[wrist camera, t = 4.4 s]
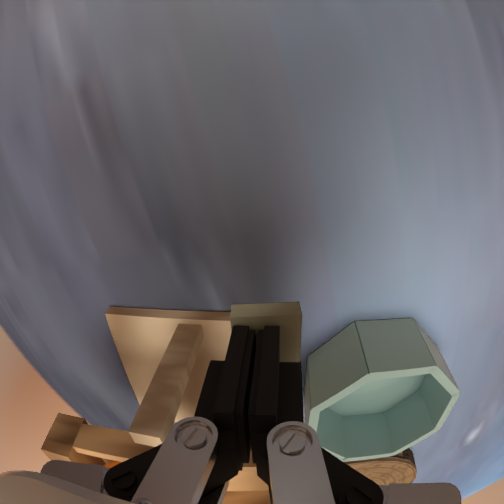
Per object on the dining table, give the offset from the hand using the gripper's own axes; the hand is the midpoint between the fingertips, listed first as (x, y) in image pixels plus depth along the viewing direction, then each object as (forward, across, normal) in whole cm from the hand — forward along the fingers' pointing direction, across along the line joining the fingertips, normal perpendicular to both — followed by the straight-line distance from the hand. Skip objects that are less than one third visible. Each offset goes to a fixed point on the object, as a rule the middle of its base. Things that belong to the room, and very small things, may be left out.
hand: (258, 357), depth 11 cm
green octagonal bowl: (+9, -8, +10) cm, 15 cm away
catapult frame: (+9, +5, +10) cm, 14 cm away
